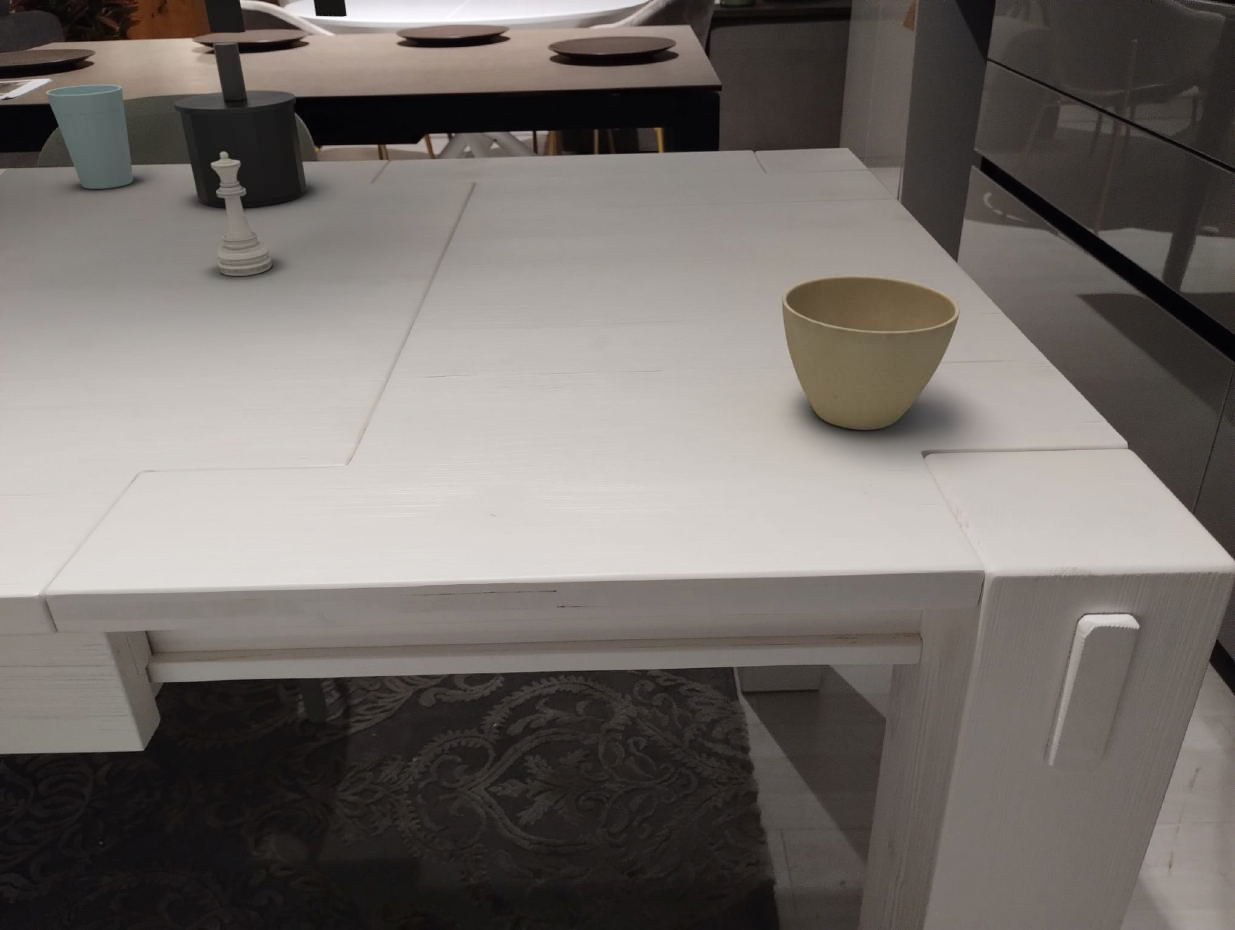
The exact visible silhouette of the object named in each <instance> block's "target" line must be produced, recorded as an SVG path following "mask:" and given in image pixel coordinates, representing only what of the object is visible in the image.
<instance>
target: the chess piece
mask: <svg viewBox="0 0 1235 930" xmlns="http://www.w3.org/2000/svg"><path fill="white" fill-rule="evenodd" d="M220 157H221V158H222V159H220V160H219V161H216V162H213V163H211V167H212V168H213V169H214V170H215V171H216V172H217V174H218V175H219V177H220V179H221V182H220V186H221V187H220V188H219V189H218V190H217V191H216V193H217V196H218V197H221V198H225V203H226V208H225V210H226V220H227V221H226V234H224V235H223V236H222V241H223V245H222V246H221V247H220V248H219V249H218V251H217V253H216V257H217V260H218V265H217V266H218V270H219V272H220V273H222V274H223V275H226V276H232V277H244V276H245V277H246V276H252V275H257V274H260V273H264V272H266V271H268V270H270V269H271V267H272V266H273V263H272V258H271V256H269V254H270V250H269V248H268V246H267V245H266V244H265V243H262V242H261V241H259V240H258V235H257V234H258V233H257V232H255V231H252V230H251V227H250V225H249V223H248V220H247V218H246V215H245V212H244V208H242V204H241V200H240V196H243V195H245V194H246V189H245V188H244V187H241V186H240V185H239V181H237V176H236V175H237V172H238V169H239V167H240V165H241V163H240V161H238V160H231V159H229V158H228V154H227V153H226V152H221V153H220Z"/></svg>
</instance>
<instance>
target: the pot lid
mask: <svg viewBox="0 0 1235 930" xmlns="http://www.w3.org/2000/svg"><path fill="white" fill-rule="evenodd" d="M212 47H213V52H214V58H215V62H216V68H217V73H218V77H219V83H220V88H221V91H220V92H219V91H218V92H211V93H203V94H202V93H201V94H197V95H192V96H187V97H184V98H180V99H178V100H175V102H174V103H173V105H174V110H175V111H176V112H178V113H179V114H180V113H185V114H192V115H236V114H249V113H258V112H265V111H272V110H277V109H281V108H285V107H288V106H291V105H293V106H294V105H295V104H296V103H297V100H296V99H297V98H296V95H295V94H294V93H291V92H288V91H281V90H280V91H279V90H262V89H261V90H260V89H259V90H258V89H257V90H256V89H255V90H253V89H252V90H247V89H246V84H245V78H244V72H243V67H242V60H241V55H240V51H239V45H238V42H237V41H236V42H235V41H226V42H225V41H222V42H216V43H213V44H212Z"/></svg>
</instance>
